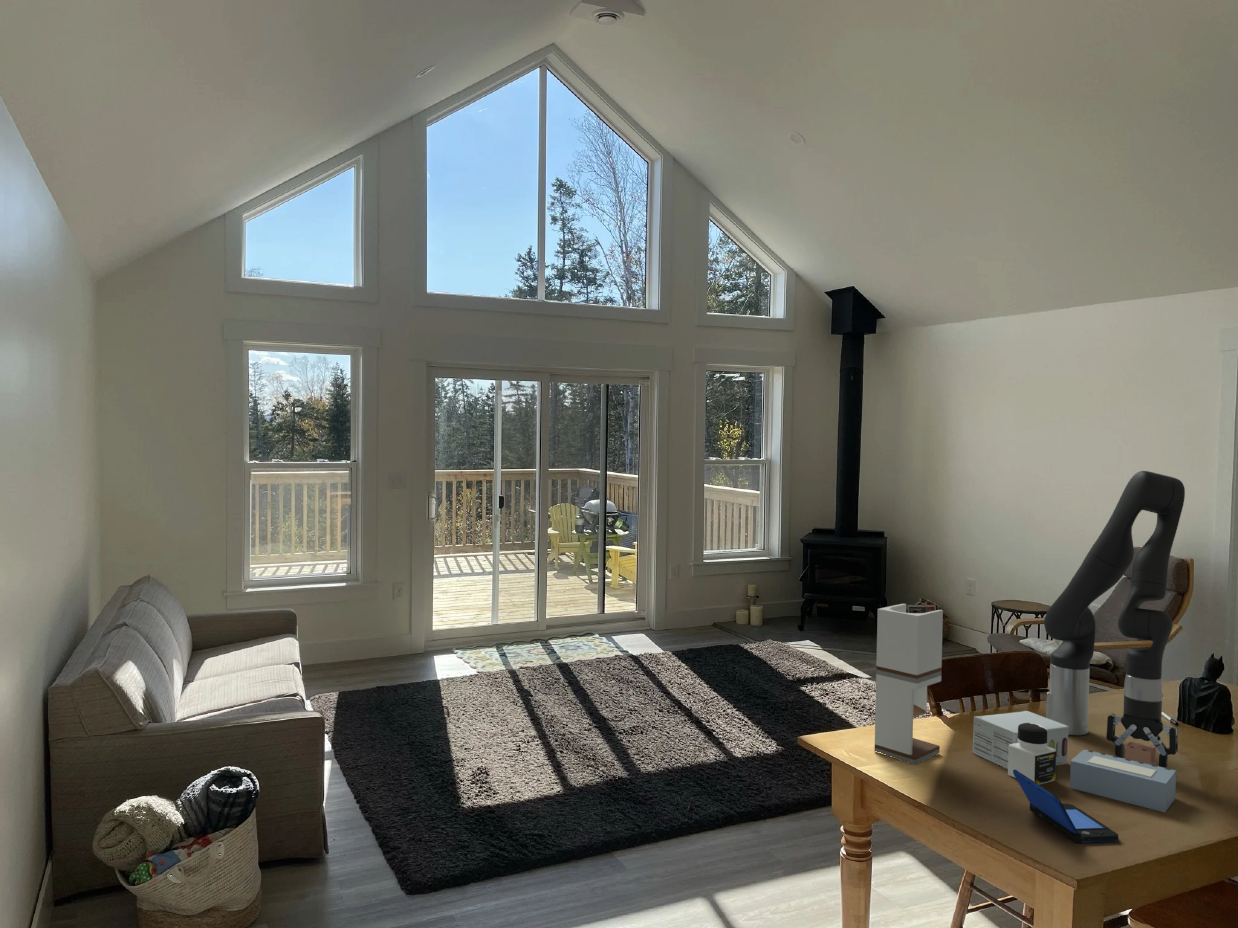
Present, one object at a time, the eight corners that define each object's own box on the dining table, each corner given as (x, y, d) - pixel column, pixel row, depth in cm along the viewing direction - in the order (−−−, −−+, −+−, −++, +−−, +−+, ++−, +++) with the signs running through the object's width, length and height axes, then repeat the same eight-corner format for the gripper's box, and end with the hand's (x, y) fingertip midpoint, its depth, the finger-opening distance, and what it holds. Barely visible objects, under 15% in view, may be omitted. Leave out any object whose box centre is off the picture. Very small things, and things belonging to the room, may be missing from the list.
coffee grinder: (914, 764, 203) (918, 615, 202) (874, 752, 211) (877, 608, 210) (939, 753, 211) (942, 610, 210) (899, 742, 219) (903, 603, 218)
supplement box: (1013, 773, 199) (1014, 732, 199) (971, 753, 212) (972, 715, 212) (1069, 764, 205) (1070, 725, 205) (1025, 746, 218) (1026, 708, 217)
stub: (1124, 772, 200) (1125, 745, 200) (1130, 765, 204) (1131, 739, 204) (1149, 778, 197) (1150, 751, 196) (1155, 771, 201) (1156, 744, 201)
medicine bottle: (1034, 786, 191) (1036, 732, 191) (1007, 775, 198) (1008, 722, 197) (1056, 780, 195) (1057, 727, 194) (1028, 769, 201) (1029, 718, 201)
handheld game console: (1122, 843, 165) (1123, 795, 165) (1055, 846, 163) (1057, 797, 163) (1070, 808, 180) (1071, 764, 180) (1009, 810, 179) (1010, 766, 179)
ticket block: (1069, 787, 191) (1070, 759, 191) (1082, 775, 198) (1083, 748, 198) (1165, 812, 179) (1166, 782, 178) (1175, 798, 186) (1176, 769, 186)
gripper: (1104, 692, 202) (1102, 761, 203) (1175, 705, 193) (1173, 778, 193) (1112, 685, 208) (1110, 753, 208) (1182, 698, 198) (1180, 769, 199)
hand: (1140, 765), depth 201 cm, fingers open, 8 cm apart
